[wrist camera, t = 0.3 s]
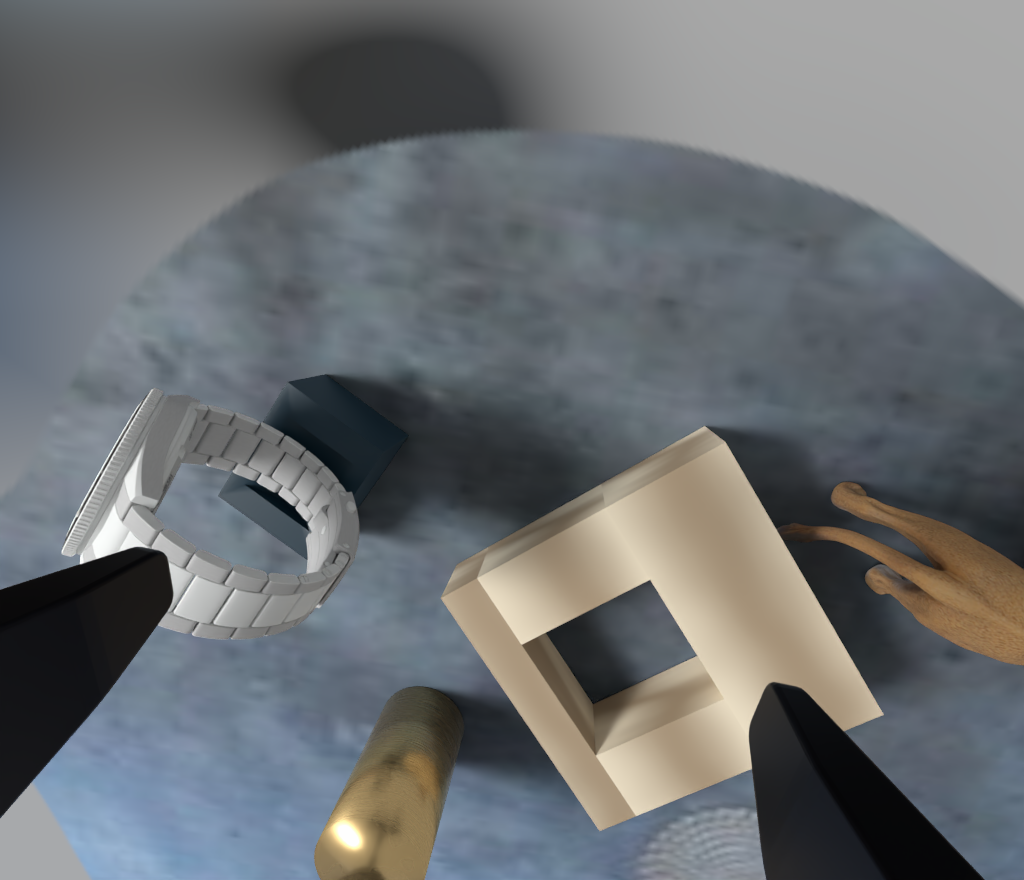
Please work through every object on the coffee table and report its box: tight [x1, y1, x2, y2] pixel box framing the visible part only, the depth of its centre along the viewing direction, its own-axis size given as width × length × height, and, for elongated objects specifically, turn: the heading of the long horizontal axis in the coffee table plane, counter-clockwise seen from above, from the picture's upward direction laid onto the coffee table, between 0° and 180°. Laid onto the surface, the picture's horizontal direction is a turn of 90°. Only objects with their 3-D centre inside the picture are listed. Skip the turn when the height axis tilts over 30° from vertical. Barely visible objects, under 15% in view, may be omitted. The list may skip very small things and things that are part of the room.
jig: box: [441, 426, 884, 831], centre depth 22 cm, size 12×12×3 cm
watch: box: [62, 374, 409, 639], centre depth 18 cm, size 6×8×11 cm
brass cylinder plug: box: [314, 686, 464, 880], centre depth 22 cm, size 4×4×7 cm
